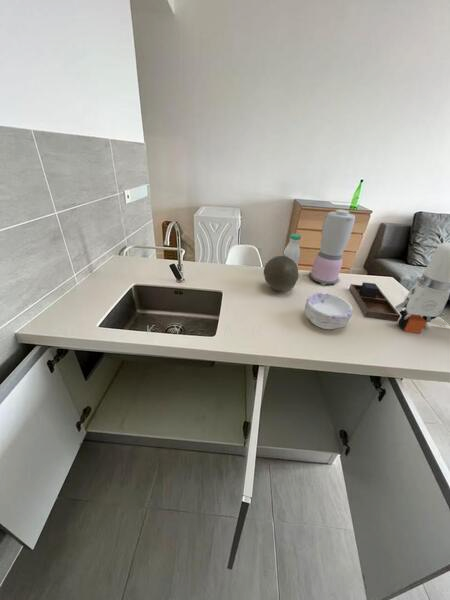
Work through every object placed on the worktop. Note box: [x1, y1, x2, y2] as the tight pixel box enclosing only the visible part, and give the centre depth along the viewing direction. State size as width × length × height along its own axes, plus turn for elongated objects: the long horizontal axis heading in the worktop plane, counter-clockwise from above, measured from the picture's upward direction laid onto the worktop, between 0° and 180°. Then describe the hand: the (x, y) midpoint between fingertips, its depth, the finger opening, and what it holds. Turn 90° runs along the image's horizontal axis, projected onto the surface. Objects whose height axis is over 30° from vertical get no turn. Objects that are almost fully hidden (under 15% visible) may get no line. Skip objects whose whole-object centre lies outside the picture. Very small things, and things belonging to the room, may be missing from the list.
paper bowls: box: [303, 292, 354, 330], centre depth 86 cm, size 15×15×8 cm
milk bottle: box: [282, 233, 302, 268], centre depth 115 cm, size 8×8×20 cm
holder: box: [348, 283, 401, 322], centre depth 100 cm, size 12×22×3 cm, turn 171°
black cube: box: [359, 281, 380, 298], centre depth 103 cm, size 5×5×5 cm
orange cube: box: [402, 312, 428, 334], centre depth 85 cm, size 5×5×5 cm
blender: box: [309, 209, 356, 287], centre depth 110 cm, size 16×12×32 cm
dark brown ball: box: [263, 255, 299, 292], centre depth 102 cm, size 14×14×15 cm
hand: (409, 327), depth 86 cm, fingers closed on orange cube, 5 cm apart
